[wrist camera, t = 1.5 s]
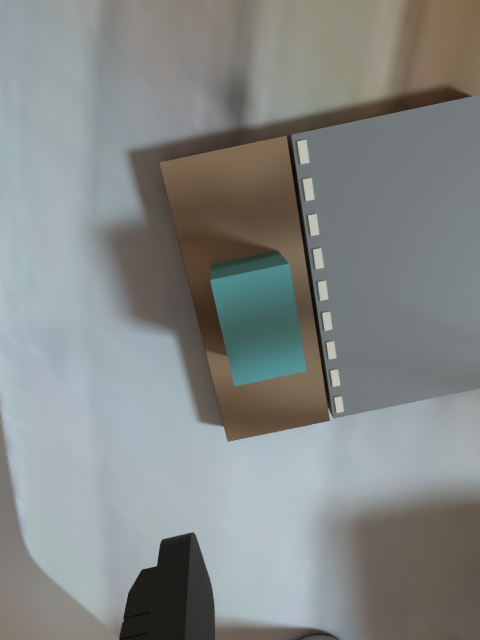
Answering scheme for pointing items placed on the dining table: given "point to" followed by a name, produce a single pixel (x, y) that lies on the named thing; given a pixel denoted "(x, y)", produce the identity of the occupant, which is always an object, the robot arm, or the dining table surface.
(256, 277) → the wooden base with cube
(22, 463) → the dining table surface
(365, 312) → the gray notebook
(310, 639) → the soda can
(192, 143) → the dining table surface
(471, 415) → the dining table surface
